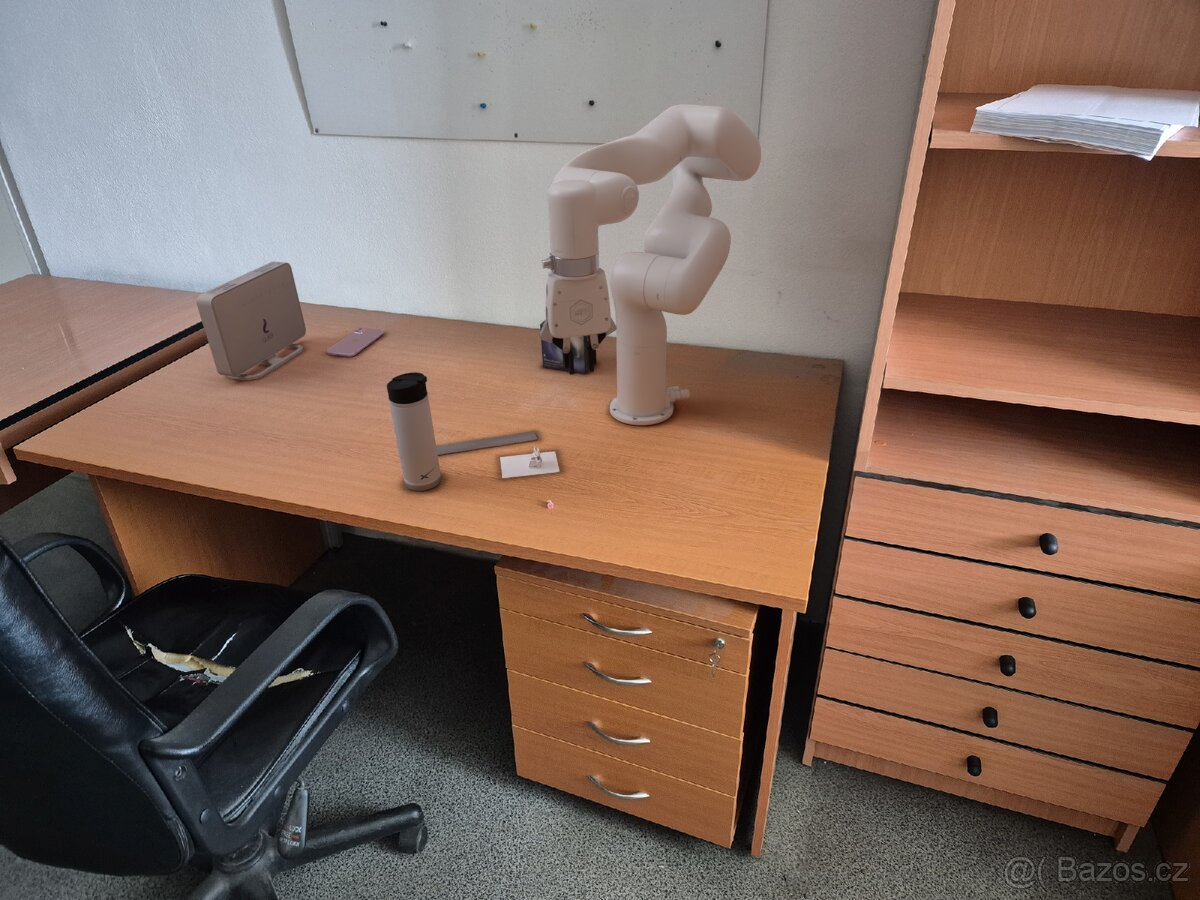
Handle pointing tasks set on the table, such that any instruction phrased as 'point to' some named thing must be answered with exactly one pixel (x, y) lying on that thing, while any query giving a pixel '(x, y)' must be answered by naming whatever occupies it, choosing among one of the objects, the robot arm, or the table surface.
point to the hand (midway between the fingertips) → (580, 369)
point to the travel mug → (414, 431)
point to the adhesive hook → (529, 464)
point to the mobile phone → (355, 342)
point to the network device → (253, 320)
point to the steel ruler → (486, 443)
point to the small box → (555, 359)
